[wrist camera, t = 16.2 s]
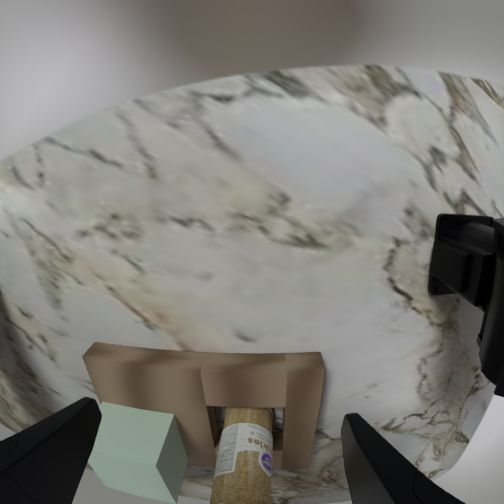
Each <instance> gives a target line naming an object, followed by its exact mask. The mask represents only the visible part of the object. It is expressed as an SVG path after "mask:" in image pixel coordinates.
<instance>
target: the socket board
mask: <svg viewBox="0 0 504 504" xmlns="http://www.w3.org/2000/svg"><path fill="white" fill-rule="evenodd" d="M82 357H83V360H84V363H85V366H86V368H87V371H88V374H89V376H90V379H91V381H92V384H93V386H94V389H95V391H96V394H97V396H98V398H99V401H100V403H102V402H107V403H112V404H116V405H121V406H126V407H131V408H137V409H143V410H149V411H155V412H162V413H169V414H174V415H175V419H176V422H177V425H178V429H179V432H180V435H181V438H182V442H183V445H184V448H185V451H186V454H187V457H188V462H187V464H188V465H195V466H204V467H216V462H217V456H218V450H219V445H220V440H221V435H222V432H223V431H218V427H217V422H216V415H215V409H214V406H222V407H252V408H275V407H283V423H282V432H272V438H273V448H272V470H280V469H303V468H308V466H309V462H310V457H311V452H312V447H313V442H314V437H315V431H316V426H317V420H318V414H319V408H320V402H321V396H322V389H323V382H324V375H325V368H324V364H323V361H322V357H321V353H320V352H308V353H274V354H241V353H206V352H187V351H172V350H159V349H148V348H138V347H129V346H120V345H112V344H105V343H98V342H95V343H94V344H93V345H92V346H91V347H90V348H89V349H88V350H87V352H86V353H85V354H84V355H83V356H82Z"/></svg>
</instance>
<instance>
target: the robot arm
mask: <svg viewBox="0 0 504 504" xmlns="http://www.w3.org/2000/svg"><path fill="white" fill-rule="evenodd" d="M443 218H444V222H443V223H442V219H443ZM489 221H490V224H489ZM430 273H431V275H430V281H429V287H428V291H429V293H431V294H432V295H443V294H453V293H458V294H460V295H461V296H462V297H464V298H465V299H466V300H468V301H469V302H470V303H471V304H473V305H474V306H476V307H478V308H479V309H480V310H482V311H483V312H484V317H483V322H482V327H481V331H480V333H479V334H478V338H477V343H478V345H479V348H480V351H479V357H480V361H481V364H482V367H481V371H482V373H483V374H484V375H485V377H486V378H487V379H488V380H489V381H491V382H492V383H493V384H494V385H496V388H495V391H494V394H495V395H498V396H502V397H504V218H499V219H494V218H493V217H490V216H478V215H462V214H444V213H442V214H439V215H438V217H437V223H436V234H435V241H434V246H433V255H432V262H431V269H430ZM434 287H436V288H435V290H433V288H434ZM101 420H102V413H101V411H100V409H99V407H98V404H97V402H96V400H95V399H93V398H89V397H84V398H82V399H80V400H78V401H76V402H75V403H73V404H71V405H69V406H67V407H66V408H64V409H62V410H60V411H58V412H56V413H55V414H53V415H51V416H49V417H47V418H45V419H43V420H41V421H40V422H38V423H36V424H34V425H32V426H30V427H28V428H26V429H24V430H22V431H20V433H19V432H18V433H16V434H14V435H13V436H11V437H8V438H6V439H4V440H2V441H0V504H72V502H73V499H74V496H75V494H76V491H77V488H78V485H79V483H80V480H81V477H82V475H83V472H84V470H85V467H86V465H87V462H88V460H89V457H90V455H91V452H92V450H93V447H94V444H95V440H96V437H97V433H98V430H99V426H100V423H101ZM341 438H342V448H343V457H344V467H345V473H346V478H347V482H348V486H349V490H350V495H351V499H352V504H465V503H464V502H462V501H460V500H459V499H457V498H456V497H454V496H452V495H451V494H449V493H448V492H446V491H444V490H443V489H442V488H440V487H439V486H437V485H436V484H435V483H433V482H432V481H431V480H430V479H429V478H427V477H426V476H425V475H424V474H423V473H422V472H421V471H419V470H418V469H417V468H416V467H415V466H414V465H413V464H411V463H410V462H409V461H408V460H407V459H406V458H405V457H404V456H403V455H402V454H400V453H399V452H398V451H397V450H396V449H395V448H394V447H393V446H392V445H391V444H390V443H389V442H388V441H386V440H385V439H384V438H383V437H382V436H381V435H380V434H379V433H378V432H377V431H376V430H375V429H374V428H373V427H372V426H371V425H370V424H368V423H367V422H366V421H365V420H364V419H363V418H362V417H361V416H360V415H359V414H358V413H350V414H346V415H345V417H344V420H343V424H342V428H341Z"/></svg>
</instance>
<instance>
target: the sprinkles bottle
mask: <svg viewBox="0 0 504 504" xmlns="http://www.w3.org/2000/svg"><path fill="white" fill-rule="evenodd" d="M273 416H274V414H273V410H272V408H252V407H226V409H225V422H224V428H223V432H222V435H221V440H220V445H219V450H218V456H217V462H216V467H215V473H214V478H213V488H212V494H211V499H210V504H270V503H271V501H270V499H271V497H270V496H271V476H272V448H273V438H272V420H273Z"/></svg>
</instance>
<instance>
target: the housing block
mask: <svg viewBox="0 0 504 504" xmlns="http://www.w3.org/2000/svg"><path fill="white" fill-rule="evenodd" d="M99 409H100V411H101V413H102V420H101V423H100V426H99V430H98V433H97V437H96V440H95V444H94V447H93V450H92V452H91V455H90V457H89V460H88V463H89V464H90V466H91V467H92V468H93V470H94V471H95V472H96V474H97V475H98V476H99V478H100V479H101V480H102V482H103V483H104V484H105V485H106V486H107V487H110V488H113V489H116V490H119V491H123V492H126V493H130V494H134V495H137V496H141V497H146V498H150V499H154V500H159V501H164V502H169V503H174V504H176V503H177V500H178V496H179V492H180V488H181V484H182V481H183V477H184V473H185V469H186V465H187V462H188V457H187V454H186V451H185V448H184V445H183V442H182V438H181V435H180V432H179V429H178V425H177V422H176V419H175V415H174V414H169V413H162V412H155V411H149V410H143V409H137V408H131V407H126V406H121V405H116V404H112V403H107V402H102V403H101V405H100V406H99Z"/></svg>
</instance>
